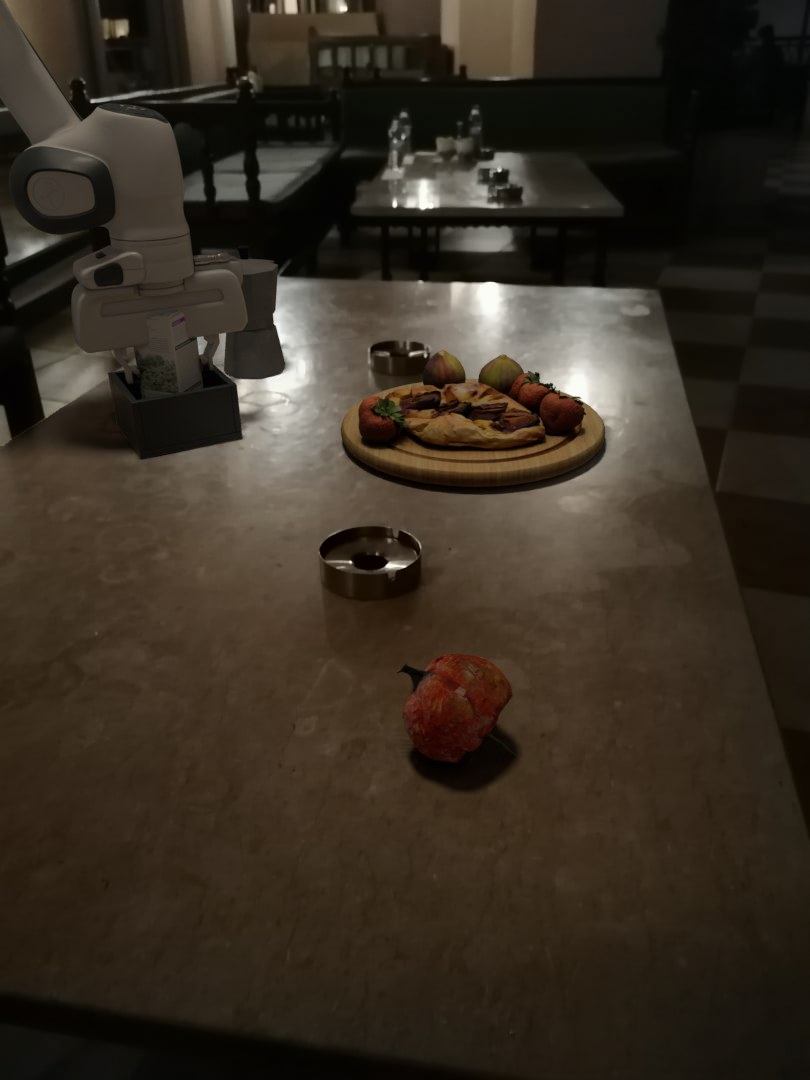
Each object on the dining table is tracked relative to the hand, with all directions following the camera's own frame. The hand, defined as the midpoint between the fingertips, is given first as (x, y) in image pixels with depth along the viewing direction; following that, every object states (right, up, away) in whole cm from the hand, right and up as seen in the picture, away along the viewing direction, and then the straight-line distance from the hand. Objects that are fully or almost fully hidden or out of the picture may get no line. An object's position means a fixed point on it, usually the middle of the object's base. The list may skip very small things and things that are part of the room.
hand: (170, 376), depth 111 cm
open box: (0, -6, +3) cm, 7 cm away
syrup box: (0, -6, +3) cm, 7 cm away
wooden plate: (+37, -8, +1) cm, 38 cm away
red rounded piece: (+32, -35, -48) cm, 67 cm away
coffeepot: (+6, +5, +24) cm, 25 cm away
